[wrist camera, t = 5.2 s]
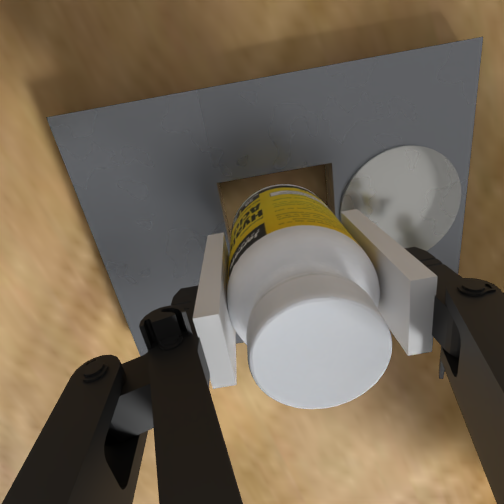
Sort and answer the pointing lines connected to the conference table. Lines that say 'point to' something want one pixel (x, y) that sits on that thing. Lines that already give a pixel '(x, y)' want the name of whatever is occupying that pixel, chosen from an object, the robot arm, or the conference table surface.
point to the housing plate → (274, 161)
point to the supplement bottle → (304, 300)
